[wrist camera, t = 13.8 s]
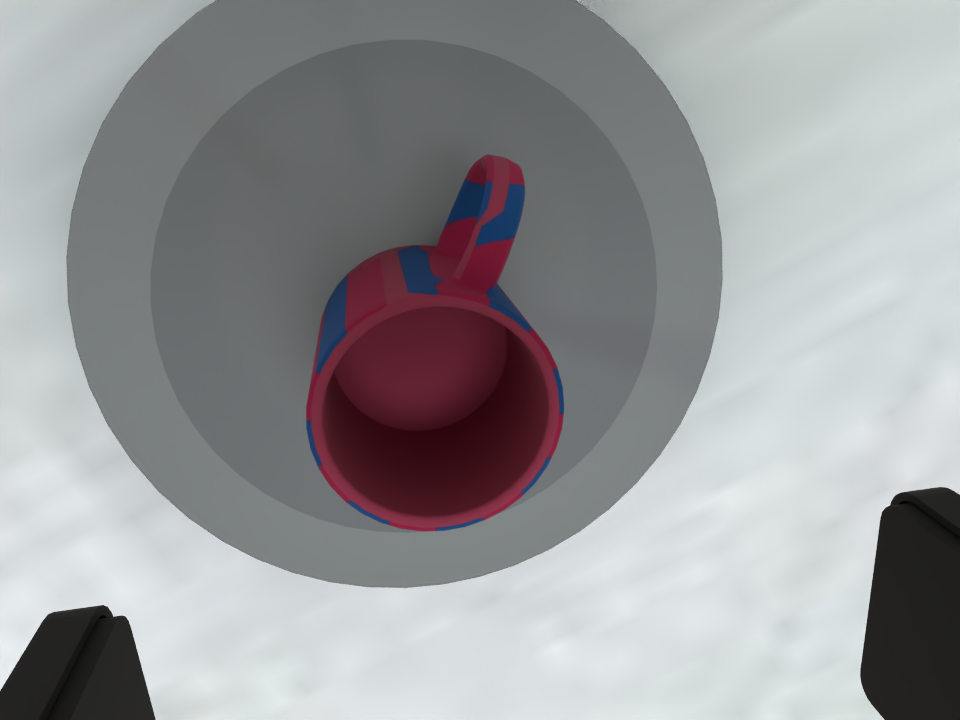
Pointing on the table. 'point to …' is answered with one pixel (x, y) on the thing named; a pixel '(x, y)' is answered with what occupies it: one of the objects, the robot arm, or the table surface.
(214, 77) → the dish
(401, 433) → the cup
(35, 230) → the table surface
